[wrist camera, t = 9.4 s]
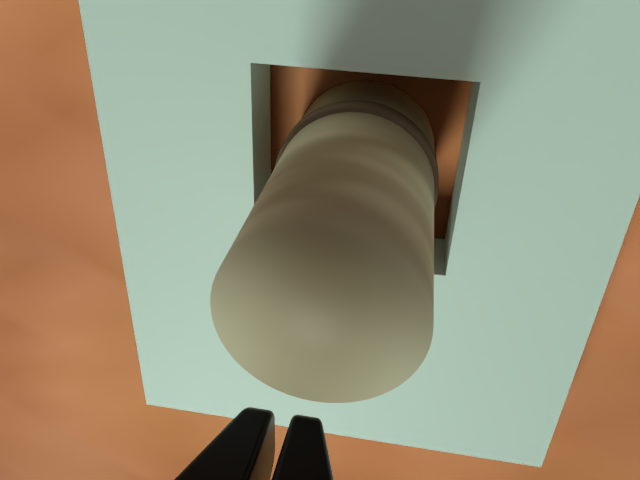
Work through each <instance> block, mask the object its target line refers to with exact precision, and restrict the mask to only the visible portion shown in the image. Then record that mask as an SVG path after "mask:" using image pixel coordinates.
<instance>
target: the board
mask: <svg viewBox="0 0 640 480" xmlns="http://www.w3.org/2000/svg"><path fill="white" fill-rule="evenodd" d="M79 6H80V12H81V18H82V24H83V30H84V36H85V42H86V48H87V54H88V60H89V65H90V71H91V77H92V83H93V89H94V95H95V101H96V107H97V113H98V119H99V125H100V131H101V137H102V143H103V149H104V155H105V161H106V166H107V172H108V178H109V184H110V190H111V196H112V202H113V208H114V214H115V220H116V226H117V232H118V238H119V244H120V250H121V256H122V261H123V267H124V273H125V279H126V285H127V291H128V297H129V303H130V309H131V315H132V321H133V327H134V333H135V339H136V345H137V351H138V356H139V362H140V368H141V374H142V380H143V386H144V392H145V398H146V404H149V405H155V406H161V407H168V408H174V409H180V410H186V411H193V412H199V413H205V414H211V415H218V416H224V417H230V418H235V417H236V416H237V415H238V414H239V413H240V412H241V411H242V410H243V409H245V408H247V407H252V408H259V409H265V410H270V411H272V412H273V413H274V417H275V425H280V426H286V427H289V424H290V421H291V419H292V417H293V416H294V415H303V416H310V417H316V418H319V419H320V420H321V422H322V425H323V430H324V433H330V434H336V435H343V436H349V437H355V438H361V439H368V440H374V441H380V442H386V443H392V444H399V445H405V446H411V447H417V448H424V449H430V450H436V451H442V452H449V453H455V454H461V455H467V456H474V457H480V458H486V459H492V460H499V461H505V462H511V463H517V464H524V465H530V466H536V467H541V466H542V463H543V461H544V458H545V455H546V452H547V450H548V447H549V444H550V441H551V439H552V436H553V433H554V430H555V428H556V425H557V422H558V419H559V416H560V414H561V411H562V408H563V405H564V403H565V400H566V397H567V394H568V392H569V389H570V386H571V383H572V381H573V378H574V375H575V372H576V370H577V367H578V364H579V361H580V358H581V356H582V353H583V350H584V347H585V345H586V342H587V339H588V336H589V334H590V331H591V328H592V325H593V323H594V320H595V317H596V314H597V312H598V309H599V306H600V303H601V300H602V298H603V295H604V292H605V289H606V287H607V284H608V281H609V278H610V276H611V273H612V270H613V267H614V265H615V262H616V259H617V256H618V254H619V251H620V248H621V245H622V242H623V240H624V237H625V234H626V231H627V229H628V226H629V223H630V220H631V218H632V215H633V212H634V209H635V207H636V204H637V201H638V198H639V196H640V0H79ZM270 65H282V66H294V67H306V68H318V69H330V70H342V71H354V72H365V73H377V74H389V75H401V76H413V77H425V78H437V79H449V80H460V81H472V85H471V91H470V97H469V102H468V108H467V114H466V120H465V125H464V131H463V137H462V143H461V148H460V154H459V160H458V166H457V171H456V177H455V183H454V189H453V194H452V200H451V206H450V212H449V217H448V223H447V229H446V235H445V239H439V238H434V326H433V337H432V341H431V345H430V349H429V351H428V353H427V355H426V357H425V359H424V361H423V362H422V364H421V365H420V367H419V368H418V369H417V371H416V372H415V373H414V374H413V375H412V376H411V377H410V378H409V379H407V380H406V381H405V382H404V383H402V384H401V385H400V386H398V387H396V388H395V389H393V390H391V391H389V392H387V393H385V394H382V395H380V396H377V397H374V398H371V399H367V400H362V401H357V402H348V403H324V402H315V401H310V400H305V399H301V398H297V397H294V396H291V395H288V394H285V393H283V392H280V391H278V390H276V389H274V388H272V387H270V386H268V385H266V384H264V383H263V382H261V381H260V380H258V379H256V378H255V377H253V376H252V375H251V374H250V373H248V372H247V371H246V370H245V369H243V368H242V367H241V366H240V365H239V364H238V363H237V362H236V361H235V360H234V358H233V357H232V356H231V355H230V354H229V352H228V351H227V350H226V348H225V347H224V345H223V343H222V342H221V340H220V338H219V336H218V334H217V332H216V330H215V326H214V323H213V320H212V315H211V309H210V295H211V289H212V284H213V281H214V278H215V275H216V273H217V271H218V269H219V268H220V266H221V264H222V262H223V260H224V258H225V257H226V255H227V253H228V251H229V249H230V248H231V246H232V244H233V242H234V240H235V239H236V237H237V235H238V233H239V231H240V230H241V228H242V226H243V224H244V222H245V221H246V219H247V217H248V215H249V213H250V212H251V210H252V208H253V206H254V204H255V203H256V201H257V199H258V197H259V195H260V194H261V192H262V190H263V188H264V186H265V185H266V183H267V181H268V179H269V178H270V176H271V114H270Z"/></svg>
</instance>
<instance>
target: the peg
mask: <svg viewBox="0 0 640 480" xmlns="http://www.w3.org/2000/svg"><path fill="white" fill-rule="evenodd" d="M437 197H438V166H437V161H436V157H435V145H434V136H433V131H432V128H431V125H430V122H429V120H428V118H427V116H426V114H425V113H424V111H423V110H422V109H421V107H420V106H419V105H418V104H417V103H416V102H415V101H414V100H413V99H412V98H411V97H410V96H409V95H407V94H406V93H405V92H403V91H401V90H400V89H398V88H396V87H393V86H391V85H389V84H385V83H382V82H377V81H370V80H359V81H351V82H347V83H343V84H340V85H337V86H335V87H333V88H331V89H329V90H327V91H326V92H324V93H323V94H322V95H320V96H319V97H318V98H317V99H316V100H315V101H314V102H313V103H312V104H311V105H310V107H309V108H308V109H307V111H306V113H305V115H304V116H303V118H302V120H301V121H300V122H299V123H298V124H297V125H296V126H295V127H294V128H293V130H292V131H291V132H290V134H289V135H288V137H287V139H286V140H285V142H284V144H283V146H282V148H281V150H280V151H279V154H278V157H277V160H276V164H275V169H274V170H273V172H272V174H271V176H270V178H269V179H268V181H267V183H266V185H265V186H264V188H263V190H262V192H261V194H260V195H259V197H258V199H257V201H256V203H255V204H254V206H253V208H252V210H251V212H250V213H249V215H248V217H247V219H246V221H245V222H244V224H243V226H242V228H241V230H240V231H239V233H238V235H237V237H236V239H235V240H234V242H233V244H232V246H231V248H230V249H229V251H228V253H227V255H226V257H225V258H224V260H223V262H222V264H221V266H220V268H219V269H218V271H217V273H216V275H215V278H214V281H213V284H212V289H211V295H210V309H211V315H212V320H213V323H214V326H215V330H216V332H217V334H218V336H219V338H220V340H221V342H222V343H223V345H224V347H225V348H226V350H227V351H228V352H229V354H230V355H231V356H232V357H233V358H234V360H235V361H236V362H237V363H238V364H239V365H240V366H241V367H242V368H243V369H245V370H246V371H247V372H248V373H250V374H251V375H252V376H253V377H255V378H256V379H258V380H260V381H261V382H263V383H264V384H266V385H268V386H270V387H272V388H274V389H276V390H278V391H280V392H283V393H285V394H288V395H291V396H294V397H297V398H301V399H305V400H310V401H315V402H324V403H348V402H357V401H362V400H367V399H371V398H374V397H377V396H380V395H382V394H385V393H387V392H389V391H391V390H393V389H395V388H396V387H398V386H400V385H401V384H402V383H404V382H405V381H406V380H407V379H409V378H410V377H411V376H412V375H413V374H414V373H415V372H416V371H417V369H418V368H419V367H420V365H421V364H422V362H423V361H424V359H425V357H426V355H427V353H428V351H429V349H430V345H431V341H432V337H433V326H434V209H435V206H436V202H437Z"/></svg>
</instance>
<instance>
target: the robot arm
mask: <svg viewBox="0 0 640 480" xmlns="http://www.w3.org/2000/svg"><path fill="white" fill-rule="evenodd" d="M274 454H275V417H274V413H273V412H272V411H270V410H265V409H259V408H252V407H247V408H245V409H243V410H242V411H241V412H240V413H239V414H238V415H237V416H236V417H235V418H234V419H233V420H232V421H231V422H230V423H229V424H228V425H227V426H226V427H225V428H224V429H223V430H222V431H221V432H220V434H219V435H218V436H217V437H216V438H215V439H214V440H213V441H212V442H211V443H210V444H209V445H208V446H207V447H206V448H205V449H204V450H203V451H202V452H201V453H200V454H199V455H198V456H197V457H196V458H195V459H194V460H193V461H192V462H191V463H190V464H189V465H188V466H187V467H186V468H185V469H184V470H183V471H182V472H181V473H180V474H179V476H178V477H177V478H176V479H175V480H270V476H271V472H272V467H273V462H274ZM272 480H333V475H332V470H331V465H330V460H329V455H328V450H327V445H326V440H325V435H324V430H323V425H322V422H321V420H320V419H319V418H316V417H310V416H303V415H294V416H293V417H292V419H291V421H290V424H289V427H288V430H287V433H286V437H285V440H284V443H283V446H282V449H281V452H280V455H279V459H278V462H277V465H276V468H275V471H274V474H273V478H272Z"/></svg>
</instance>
